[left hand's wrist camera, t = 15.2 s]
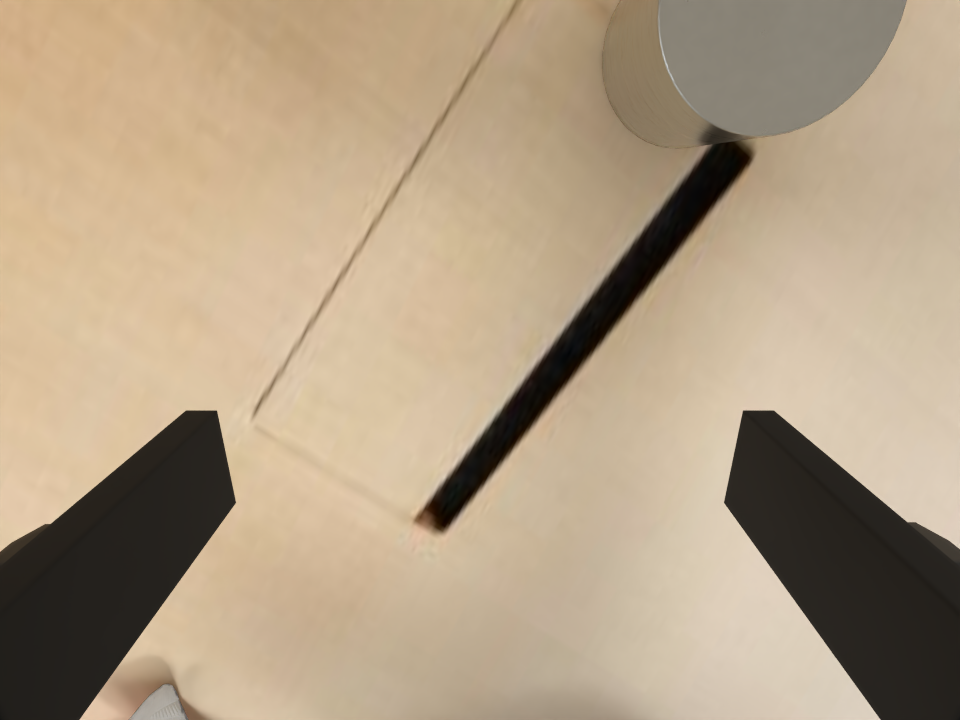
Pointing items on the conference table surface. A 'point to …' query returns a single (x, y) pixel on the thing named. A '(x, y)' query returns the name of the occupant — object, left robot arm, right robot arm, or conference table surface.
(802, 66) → the tin
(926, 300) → the conference table surface
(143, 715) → the fish
